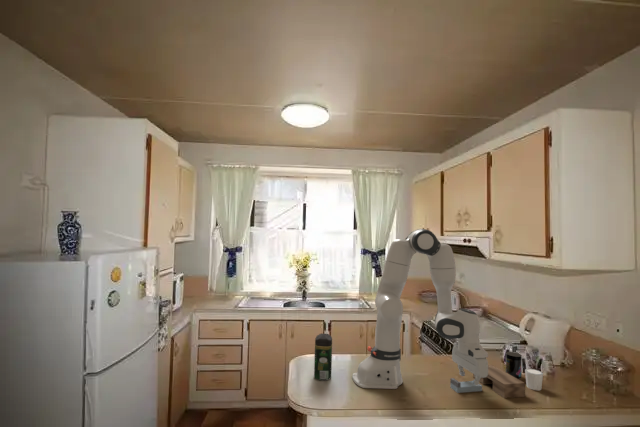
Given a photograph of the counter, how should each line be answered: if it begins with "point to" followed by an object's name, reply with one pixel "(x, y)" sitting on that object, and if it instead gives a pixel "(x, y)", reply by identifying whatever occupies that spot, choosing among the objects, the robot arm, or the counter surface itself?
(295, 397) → the counter surface
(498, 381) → the wooden bridge block
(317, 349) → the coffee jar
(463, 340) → the robot arm
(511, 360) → the supplement container
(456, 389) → the blue-grey l-shaped block
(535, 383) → the white cylinder
